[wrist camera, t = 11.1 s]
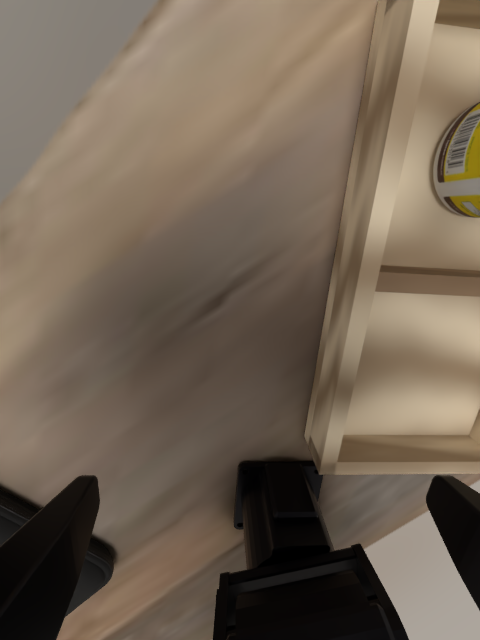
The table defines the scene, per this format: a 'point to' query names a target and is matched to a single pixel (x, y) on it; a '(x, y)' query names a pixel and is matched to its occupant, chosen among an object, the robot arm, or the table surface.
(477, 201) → the supplement bottle
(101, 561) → the carrying case or bag
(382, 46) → the wooden divided tray
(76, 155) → the table surface
